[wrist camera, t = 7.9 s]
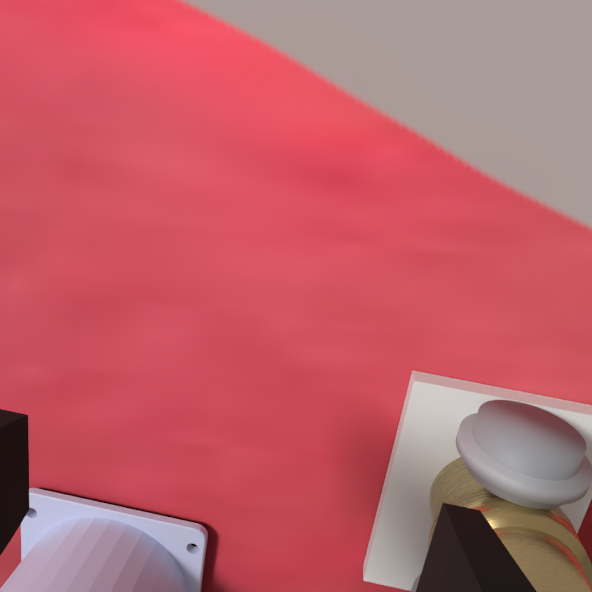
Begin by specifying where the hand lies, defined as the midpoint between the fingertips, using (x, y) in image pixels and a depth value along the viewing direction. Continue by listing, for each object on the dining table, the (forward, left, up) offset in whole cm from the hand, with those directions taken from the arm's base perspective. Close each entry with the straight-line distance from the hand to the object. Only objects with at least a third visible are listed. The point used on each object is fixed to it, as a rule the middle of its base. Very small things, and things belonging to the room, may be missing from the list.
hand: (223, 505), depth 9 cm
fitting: (-6, -8, -10) cm, 14 cm away
